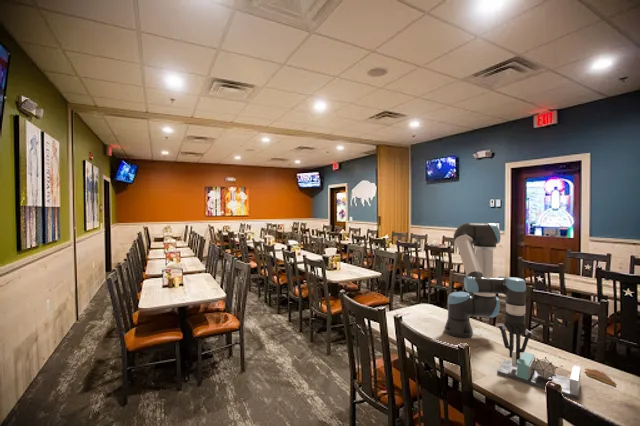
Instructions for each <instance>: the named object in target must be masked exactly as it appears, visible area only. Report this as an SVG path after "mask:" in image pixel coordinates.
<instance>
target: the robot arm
mask: <svg viewBox="0 0 640 426" xmlns="http://www.w3.org/2000/svg"><path fill="white" fill-rule="evenodd" d="M453 233H454V234H453V242H454V245H455V246H456V247H457V250H458V252H459V256H460V260H461V262H462V263H461V264H462V266H463V269H464V272H465V277H464V278H463V285H464V286H463V287H464V288H463V289H464V290H465V291H454V292H451V293H449V295H448V297H447V320H446V323H445V325H444V332H445V334H447V335H449V336H452V337H455V338H462V339H463V338H464V339H468V338H471V337H473V335H474V330H473V328H472V324H471V321H470V317H481V318H482V317H483V318H495V317H497V316H498V315H499V313H500V310H501V309H500V308H501V303H500V300H499V297H498V296H497V295H499V294H500V295H502V294H503V295H505V313H504V314H505V317H504V318H505V320H504V322H503V324H499V325H498V328H499V330H500V332H501V336H502V341H503V346H504V348H505V349H507V350H508V351H509V355H508V356H509V358H511V361H512V366H513V367H516V366H517V362H518V361H519V359H520V357H521V354H523V352H526V348H527V346H528V342H529V339H530V337H531V336H532V335H533V332H532V330H531V331H530V330H528V328H527V326H526V315H525V314H526V300H527V299H526V297H527V296H526V295H527V293H526V291H527V285H526V281H525V279H523V278H520V277H514V276H513V277H512V276H510V277H508V276H498V277H494V250H495V249H496V248H497V244H500V242H501V236H502V235H501V232H500V228H499V227H498V225H496V223H491V222H465V223H463V224H461V225H459V226H458V227H457V228H456V229H455V231H454V232H453ZM475 249H476V251H475ZM470 293H472V295H471V294H470ZM496 294H497V295H496ZM506 330H507V332H509V333H508V335H509V339H508V336H507V332H506ZM523 333H524V334H525V337H524V340H523V343H522V346H521V336H522V334H523ZM514 337H515V338H514ZM514 339H515V340H514ZM514 341H515V343H514ZM514 345H515V346H514ZM514 348H515V349H514Z"/></svg>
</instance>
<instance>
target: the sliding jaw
mask: <svg viewBox="0 0 640 426" xmlns="http://www.w3.org/2000/svg"><path fill="white" fill-rule="evenodd" d="M534 361H536V355H535V354H534V353H532V352H531V353H530V352H527V351H524V352H523V353H521V354H520V359H519V360H517V377H520V378H523V379H526V380H528V379H529V378H530V377H531V375H532V372H533V370H532V368H533V369H534V366H535V362H534Z"/></svg>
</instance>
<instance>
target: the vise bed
mask: <svg viewBox="0 0 640 426" xmlns="http://www.w3.org/2000/svg"><path fill="white" fill-rule="evenodd" d="M496 373H497V375H499V376H502V377H506V378H509V379H512V380H515V381H518V382H521V383H524V384H527V385H530V386H533V387H537V388H539V389H543V390H545V386H546V383H547V382H548V381H553V382H555V383H557V384H560V385H561V387H562V394H563V395H564V396H563V395H562V396H563V397H566V398H570V399H571V400H572V399H573V400H576V401H579V395H580V387H581V366H578V365H573V366H572V368H571V374H570V377H567V376H563V375H560V374H557V373H555V375H556V377H555V376H552V377H553V378H551V377H549V378H544V381H543V378H542V377H541V376H540V375H539V374H538V373H537V372H536V371H535V370H533V372H532V375H531V377H530V378H529V379H528V380H526V379H523V378H520V377H517V366H516V367H513V366H512V360H509V359H504V360H503V361H502V363H501V364H500V365H499V367H498V369H497V371H496Z"/></svg>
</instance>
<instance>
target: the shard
mask: <svg viewBox="0 0 640 426" xmlns="http://www.w3.org/2000/svg"><path fill="white" fill-rule="evenodd" d="M584 370H585V372H586V373H585V375H586V376H587V377H590V378H593V379H595V380H599V382H602V383H605V384H608V385H610V384H611V386H613V385H615V386H614V387H616V386H617V385H618V384H617V383H616V382H614V381H613V379H612V378H611V377H609V376H608V375H607V374H606V373H605V372H603V371H600V370H598V369H593V368H584Z"/></svg>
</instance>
